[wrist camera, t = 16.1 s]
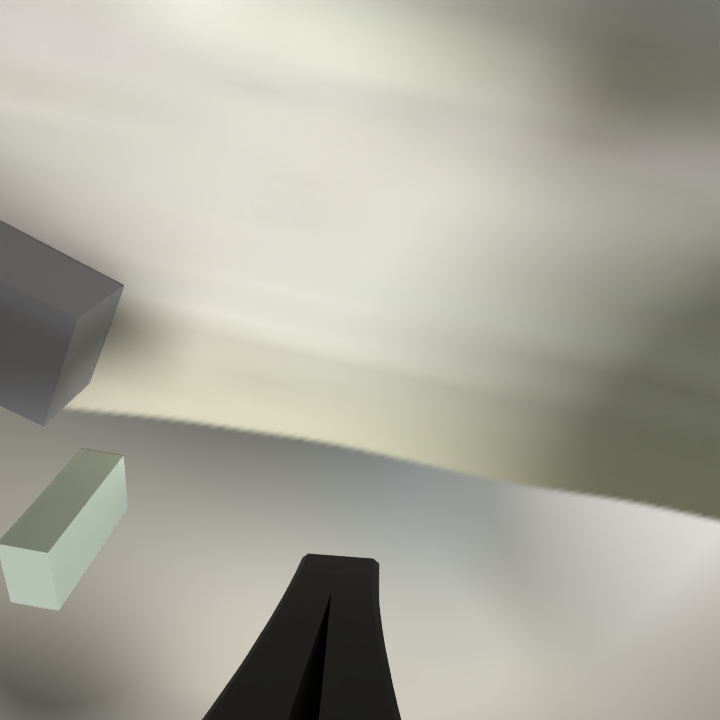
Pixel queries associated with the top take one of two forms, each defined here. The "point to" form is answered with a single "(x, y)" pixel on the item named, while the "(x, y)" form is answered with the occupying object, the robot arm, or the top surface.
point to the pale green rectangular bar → (64, 530)
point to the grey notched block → (48, 325)
